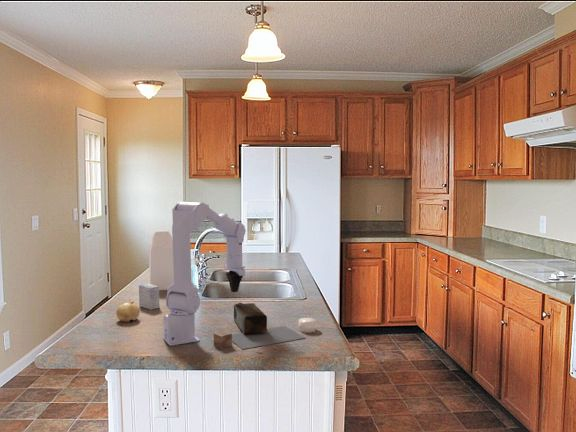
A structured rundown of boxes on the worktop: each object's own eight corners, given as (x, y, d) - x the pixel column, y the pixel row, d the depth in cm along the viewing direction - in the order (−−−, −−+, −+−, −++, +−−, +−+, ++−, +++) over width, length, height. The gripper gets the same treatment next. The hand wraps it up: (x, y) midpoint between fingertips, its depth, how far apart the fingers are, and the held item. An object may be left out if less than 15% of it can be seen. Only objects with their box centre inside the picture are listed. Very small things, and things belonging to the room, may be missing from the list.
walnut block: (221, 349, 154) (221, 336, 153) (213, 346, 157) (213, 333, 156) (232, 346, 157) (231, 333, 156) (224, 343, 159) (224, 330, 159)
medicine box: (159, 308, 199) (159, 286, 198) (149, 310, 196) (149, 288, 195) (148, 304, 204) (148, 283, 204) (139, 306, 201) (138, 284, 200)
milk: (174, 283, 242) (173, 229, 240) (177, 288, 231) (176, 232, 229) (148, 285, 238) (147, 230, 236) (150, 290, 227) (148, 233, 225)
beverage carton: (254, 318, 185) (254, 300, 185) (268, 334, 167) (267, 314, 167) (233, 320, 183) (233, 302, 183) (244, 336, 165) (244, 316, 164)
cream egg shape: (304, 334, 168) (304, 323, 168) (295, 329, 174) (295, 319, 173) (319, 331, 171) (319, 321, 171) (310, 326, 176) (310, 316, 176)
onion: (138, 323, 179) (137, 303, 179) (114, 324, 178) (114, 304, 177) (140, 316, 187) (140, 298, 187) (118, 317, 186) (117, 298, 185)
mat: (242, 349, 153) (242, 349, 153) (225, 336, 165) (225, 335, 165) (305, 338, 164) (305, 337, 164) (284, 326, 176) (284, 325, 176)
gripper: (252, 256, 180) (253, 294, 181) (236, 251, 193) (236, 286, 194) (234, 258, 177) (234, 296, 178) (219, 252, 189) (219, 288, 190)
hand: (234, 291), depth 186 cm, fingers closed
